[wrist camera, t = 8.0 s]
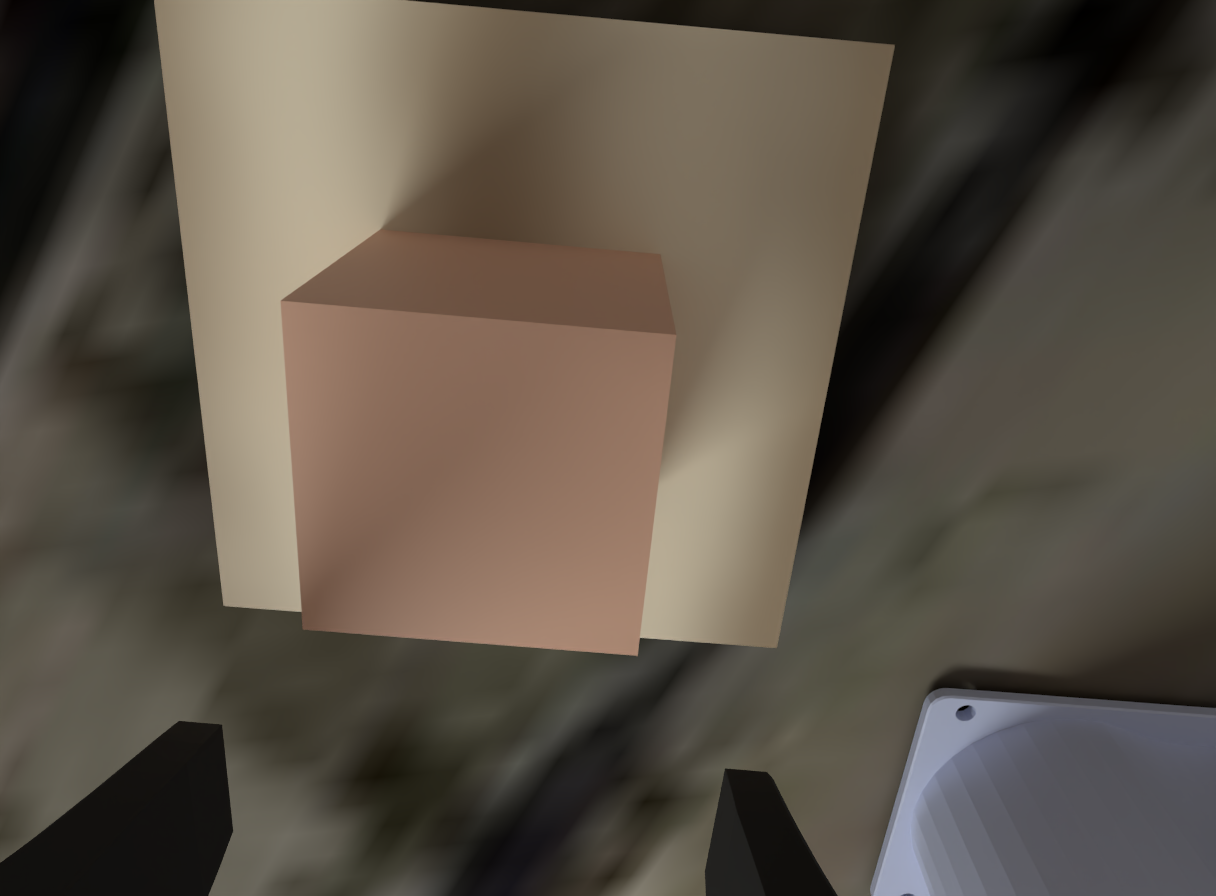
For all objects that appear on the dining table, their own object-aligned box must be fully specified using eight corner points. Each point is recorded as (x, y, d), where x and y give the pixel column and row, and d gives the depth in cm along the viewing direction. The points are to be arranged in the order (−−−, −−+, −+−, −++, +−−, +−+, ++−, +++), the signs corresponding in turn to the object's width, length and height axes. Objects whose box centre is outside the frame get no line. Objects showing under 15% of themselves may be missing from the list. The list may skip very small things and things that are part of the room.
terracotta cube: (659, 254, 16) (676, 335, 11) (633, 501, 18) (637, 655, 13) (380, 229, 16) (279, 300, 11) (385, 480, 18) (302, 629, 13)
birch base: (851, 47, 17) (895, 45, 14) (757, 574, 22) (776, 647, 19) (227, -10, 17) (150, -23, 14) (274, 536, 22) (223, 605, 19)
